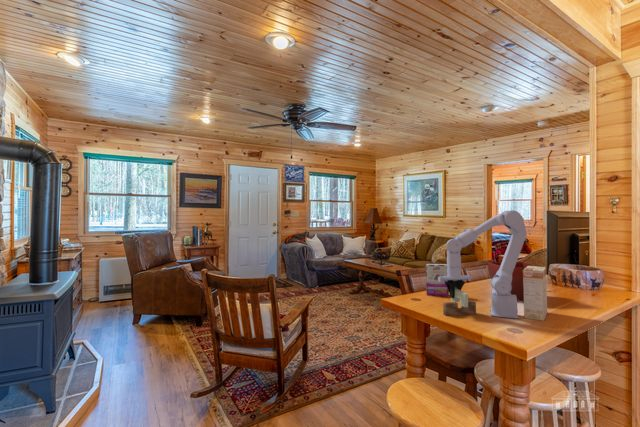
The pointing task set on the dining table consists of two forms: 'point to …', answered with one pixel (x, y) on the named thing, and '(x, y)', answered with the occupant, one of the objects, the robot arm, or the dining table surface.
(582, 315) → the dining table surface
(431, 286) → the candy bar box
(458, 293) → the sage plate
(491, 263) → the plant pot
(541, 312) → the coffeecake box
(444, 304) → the base plate
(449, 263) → the robot arm
